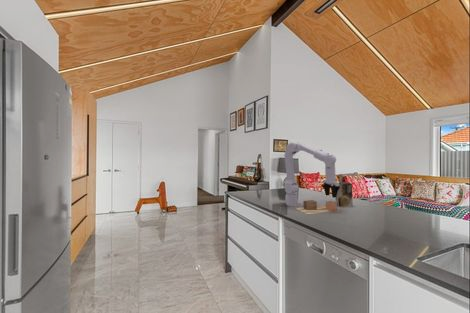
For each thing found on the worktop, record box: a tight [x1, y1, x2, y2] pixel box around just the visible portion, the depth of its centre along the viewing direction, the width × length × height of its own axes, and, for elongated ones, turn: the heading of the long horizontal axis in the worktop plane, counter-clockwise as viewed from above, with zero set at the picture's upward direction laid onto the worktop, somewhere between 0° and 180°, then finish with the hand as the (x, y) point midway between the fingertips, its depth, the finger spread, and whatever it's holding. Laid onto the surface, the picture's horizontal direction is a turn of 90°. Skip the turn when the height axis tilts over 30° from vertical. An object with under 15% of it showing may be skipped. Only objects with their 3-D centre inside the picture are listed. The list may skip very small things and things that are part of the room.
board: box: [293, 204, 340, 215], centre depth 155 cm, size 18×22×1 cm
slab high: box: [303, 199, 318, 206], centre depth 156 cm, size 6×6×2 cm
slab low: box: [303, 204, 318, 210], centre depth 156 cm, size 6×6×2 cm
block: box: [325, 200, 338, 211], centre depth 152 cm, size 4×4×5 cm
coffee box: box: [334, 182, 353, 208], centre depth 162 cm, size 9×6×16 cm
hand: (330, 196), depth 152 cm, fingers open, 7 cm apart
